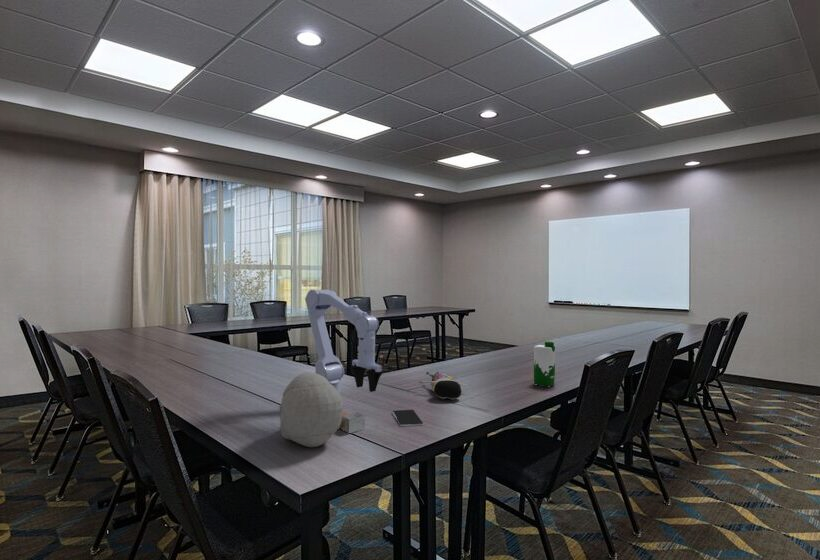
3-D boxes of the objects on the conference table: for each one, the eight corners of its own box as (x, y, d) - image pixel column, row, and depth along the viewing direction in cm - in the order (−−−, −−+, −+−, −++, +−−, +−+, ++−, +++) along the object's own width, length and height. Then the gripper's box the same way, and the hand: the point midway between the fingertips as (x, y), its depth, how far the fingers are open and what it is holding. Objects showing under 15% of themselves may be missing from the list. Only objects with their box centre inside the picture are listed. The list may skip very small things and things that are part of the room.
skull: (320, 421, 146) (321, 361, 146) (349, 449, 122) (350, 378, 122) (268, 428, 138) (269, 365, 138) (288, 460, 114) (289, 384, 114)
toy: (413, 386, 199) (421, 400, 169) (414, 366, 199) (423, 377, 169) (462, 389, 201) (479, 403, 171) (464, 369, 201) (481, 381, 172)
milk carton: (550, 388, 195) (551, 343, 195) (531, 385, 201) (531, 341, 201) (556, 384, 202) (557, 341, 202) (537, 381, 208) (538, 339, 208)
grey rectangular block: (341, 430, 137) (341, 416, 137) (357, 426, 141) (357, 412, 141) (349, 434, 134) (349, 419, 134) (364, 429, 138) (364, 415, 138)
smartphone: (400, 424, 141) (391, 410, 156) (400, 428, 141) (391, 414, 156) (424, 423, 143) (413, 409, 158) (424, 427, 143) (413, 412, 158)
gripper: (345, 348, 155) (344, 386, 155) (370, 354, 144) (369, 395, 144) (361, 346, 159) (360, 383, 159) (386, 352, 149) (385, 391, 149)
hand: (366, 389), depth 152 cm, fingers open, 7 cm apart
